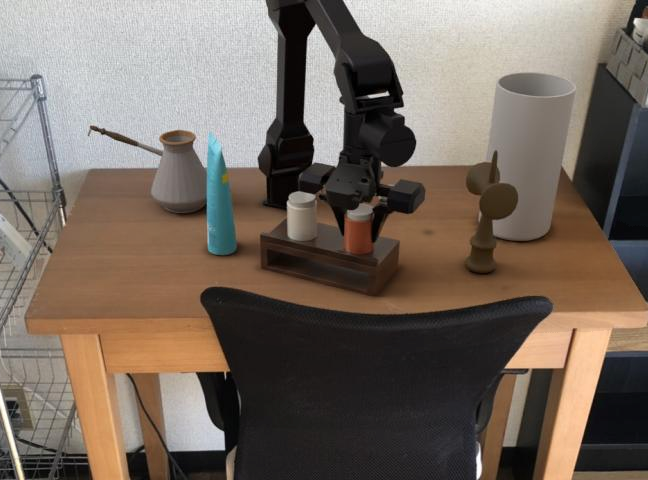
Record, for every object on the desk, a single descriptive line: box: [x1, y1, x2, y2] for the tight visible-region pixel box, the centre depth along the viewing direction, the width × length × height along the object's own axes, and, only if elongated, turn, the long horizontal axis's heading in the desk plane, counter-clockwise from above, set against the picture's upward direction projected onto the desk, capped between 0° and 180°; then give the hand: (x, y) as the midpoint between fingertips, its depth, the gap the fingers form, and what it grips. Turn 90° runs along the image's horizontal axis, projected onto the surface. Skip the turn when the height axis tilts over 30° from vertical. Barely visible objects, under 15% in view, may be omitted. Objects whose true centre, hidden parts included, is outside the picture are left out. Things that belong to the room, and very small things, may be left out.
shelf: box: [259, 217, 401, 297], centre depth 136 cm, size 20×10×6 cm, turn 64°
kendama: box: [464, 150, 518, 274], centre depth 132 cm, size 6×10×20 cm, turn 8°
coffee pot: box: [87, 124, 207, 214], centre depth 152 cm, size 21×12×15 cm, turn 91°
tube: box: [206, 130, 238, 256], centre depth 137 cm, size 7×5×19 cm, turn 26°
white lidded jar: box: [286, 191, 318, 241], centre depth 135 cm, size 5×5×6 cm
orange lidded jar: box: [344, 203, 374, 254], centre depth 131 cm, size 5×5×6 cm
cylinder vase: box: [478, 71, 577, 242], centre depth 143 cm, size 12×12×25 cm
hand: (359, 238), depth 132 cm, fingers closed on orange lidded jar, 5 cm apart
